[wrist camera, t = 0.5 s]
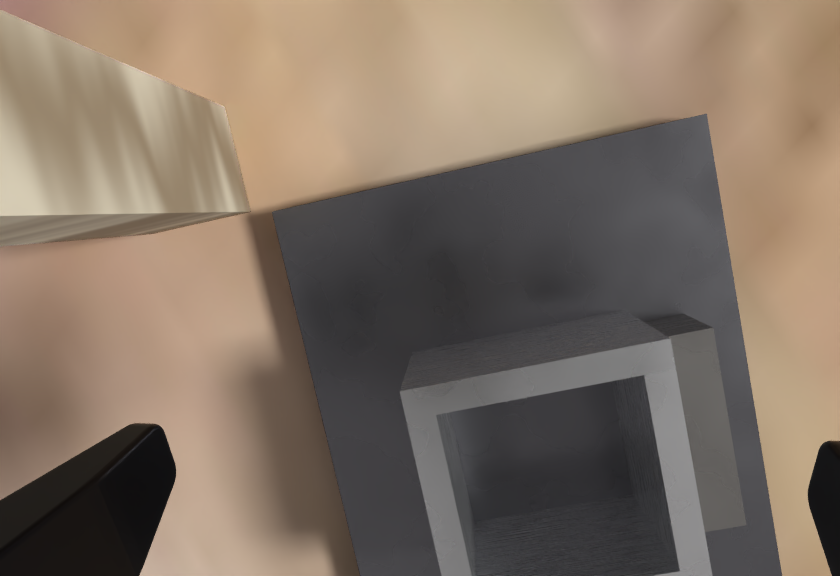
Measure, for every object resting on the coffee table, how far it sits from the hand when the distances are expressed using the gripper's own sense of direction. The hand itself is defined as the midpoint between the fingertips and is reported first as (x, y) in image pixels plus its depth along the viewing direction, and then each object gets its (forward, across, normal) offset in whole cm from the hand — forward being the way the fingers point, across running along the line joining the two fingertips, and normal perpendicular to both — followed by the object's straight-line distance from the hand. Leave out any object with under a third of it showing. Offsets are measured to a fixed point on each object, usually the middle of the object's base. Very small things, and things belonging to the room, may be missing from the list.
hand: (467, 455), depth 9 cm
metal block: (+13, +10, 0) cm, 17 cm away
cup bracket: (+11, -1, +8) cm, 14 cm away
